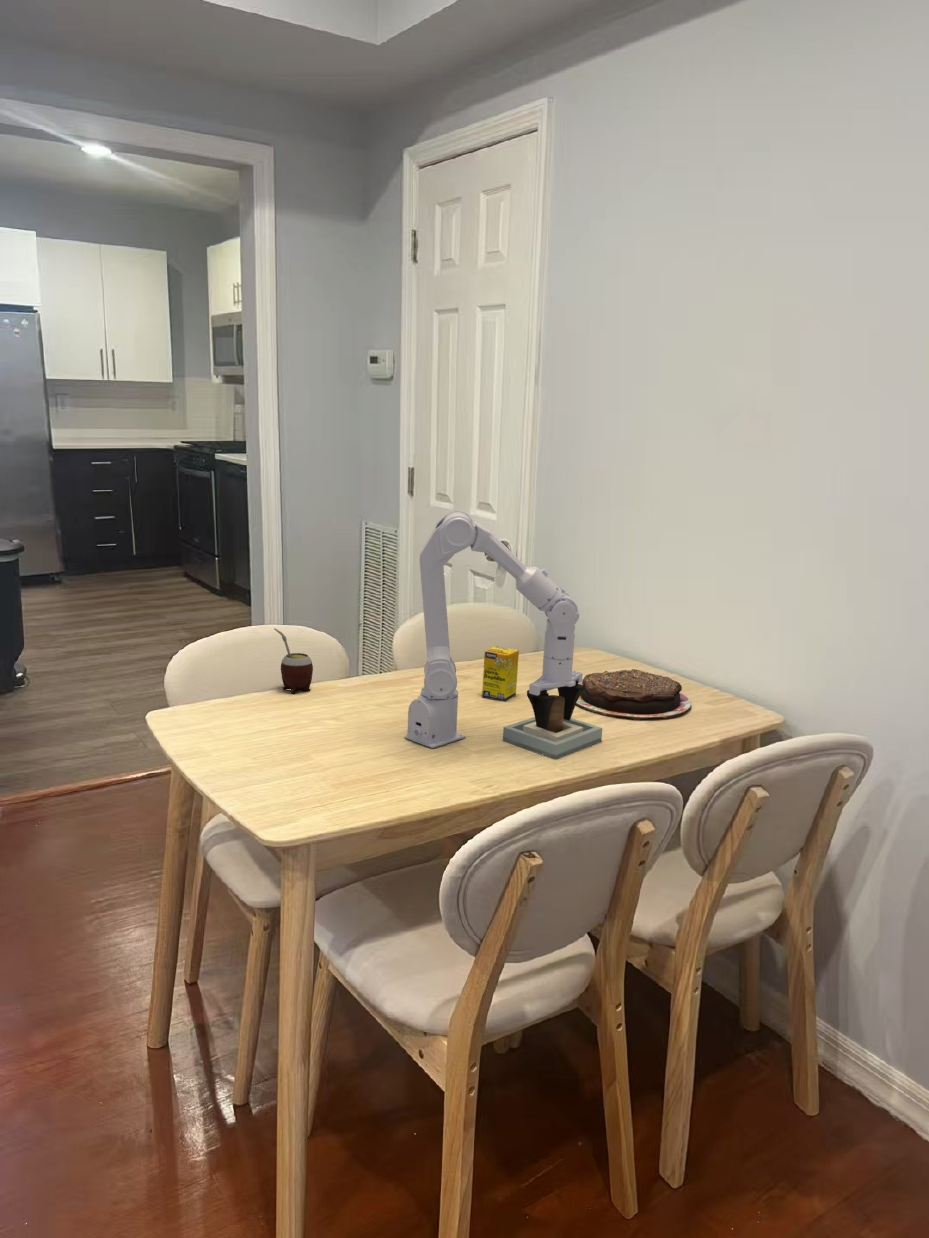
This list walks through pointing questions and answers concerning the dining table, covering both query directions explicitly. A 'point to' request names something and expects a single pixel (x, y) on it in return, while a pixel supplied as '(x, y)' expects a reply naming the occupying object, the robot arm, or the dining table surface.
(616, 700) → the chocolate cake
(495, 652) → the supplement box
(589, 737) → the tray
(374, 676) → the dining table surface
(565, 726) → the socket block
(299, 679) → the mate gourd
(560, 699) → the walnut peg
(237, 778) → the dining table surface
